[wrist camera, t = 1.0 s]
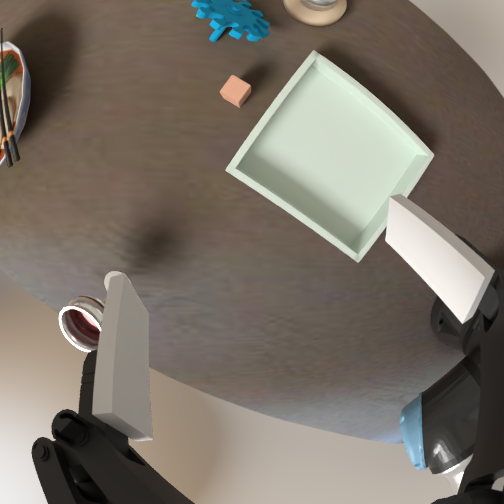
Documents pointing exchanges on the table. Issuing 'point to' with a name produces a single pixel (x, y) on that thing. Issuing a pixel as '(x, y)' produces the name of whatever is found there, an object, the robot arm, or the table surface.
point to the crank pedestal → (315, 13)
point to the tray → (332, 156)
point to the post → (236, 91)
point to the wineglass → (85, 319)
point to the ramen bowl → (12, 99)
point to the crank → (319, 4)
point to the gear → (232, 18)
